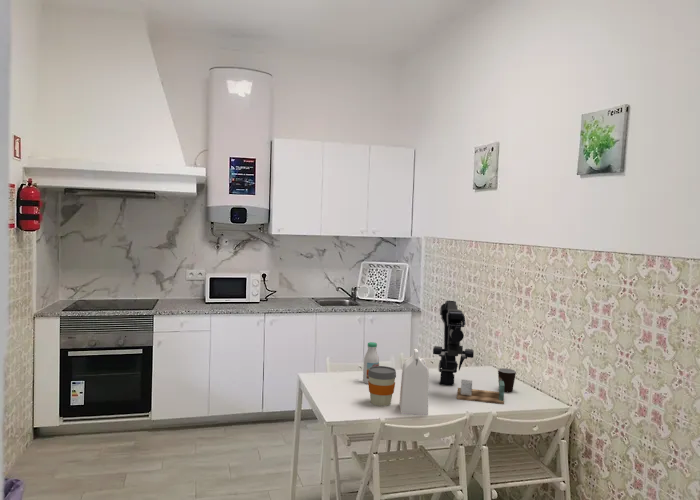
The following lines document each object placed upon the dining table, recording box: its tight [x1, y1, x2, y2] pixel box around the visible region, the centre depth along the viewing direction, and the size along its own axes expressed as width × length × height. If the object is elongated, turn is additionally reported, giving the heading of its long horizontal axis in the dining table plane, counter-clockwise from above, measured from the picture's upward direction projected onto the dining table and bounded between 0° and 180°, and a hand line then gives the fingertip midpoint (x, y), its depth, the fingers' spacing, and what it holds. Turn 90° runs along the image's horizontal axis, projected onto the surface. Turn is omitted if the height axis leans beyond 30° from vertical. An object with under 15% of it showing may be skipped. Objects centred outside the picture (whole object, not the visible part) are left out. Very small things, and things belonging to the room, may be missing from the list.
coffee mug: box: [497, 367, 517, 393], centre depth 280 cm, size 12×9×10 cm
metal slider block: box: [460, 379, 473, 396], centre depth 266 cm, size 5×6×6 cm
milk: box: [398, 348, 430, 416], centre depth 244 cm, size 12×12×26 cm
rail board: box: [456, 380, 505, 405], centre depth 265 cm, size 21×12×8 cm, turn 78°
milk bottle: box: [362, 341, 380, 385], centre depth 282 cm, size 8×8×20 cm
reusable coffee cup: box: [367, 365, 397, 407], centre depth 252 cm, size 13×12×15 cm
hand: (452, 369), depth 267 cm, fingers open, 6 cm apart
